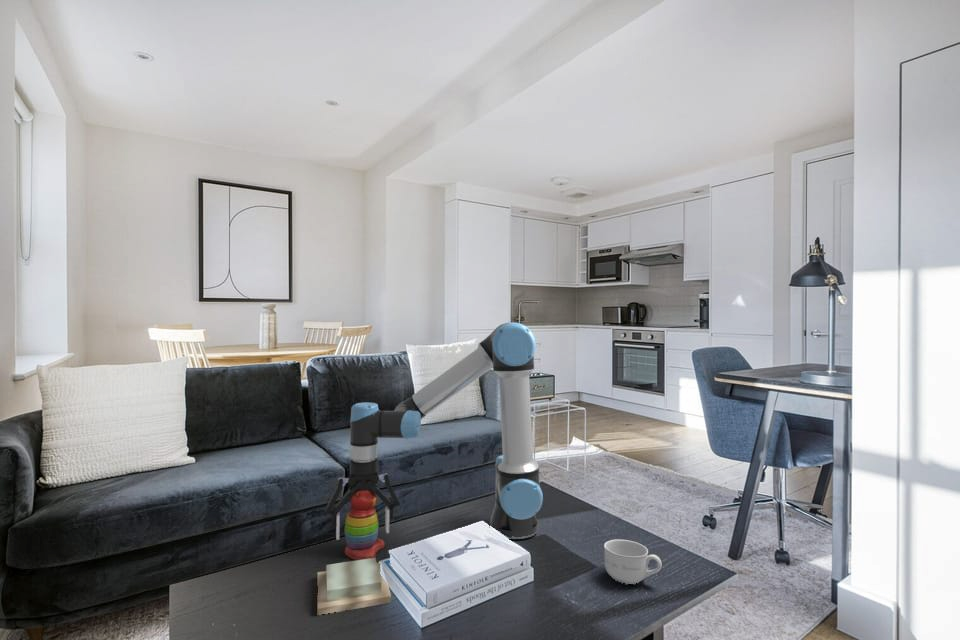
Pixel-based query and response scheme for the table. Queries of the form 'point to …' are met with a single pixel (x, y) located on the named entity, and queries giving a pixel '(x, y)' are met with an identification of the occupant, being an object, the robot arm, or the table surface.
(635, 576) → the teacup
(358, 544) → the stacking bear
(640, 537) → the table surface
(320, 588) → the plinth
